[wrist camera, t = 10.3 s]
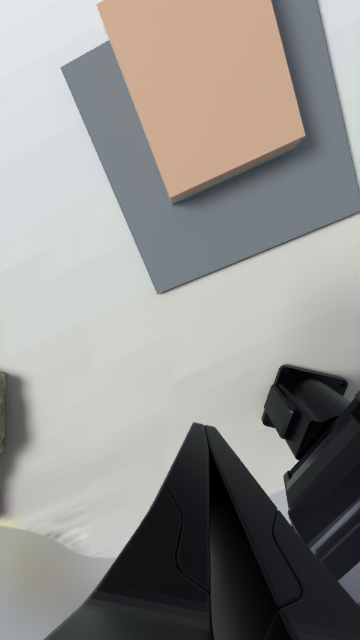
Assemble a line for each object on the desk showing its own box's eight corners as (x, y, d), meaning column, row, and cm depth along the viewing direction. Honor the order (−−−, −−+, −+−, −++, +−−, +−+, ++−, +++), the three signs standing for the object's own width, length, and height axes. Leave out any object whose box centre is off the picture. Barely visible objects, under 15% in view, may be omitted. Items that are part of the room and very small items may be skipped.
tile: (305, 135, 15) (249, -86, 13) (170, 197, 16) (96, 4, 14) (292, 150, 17) (241, -39, 15) (172, 205, 18) (107, 36, 16)
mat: (359, 211, 18) (363, 209, 18) (158, 293, 20) (157, 294, 20) (298, -60, 15) (301, -69, 14) (63, 72, 17) (60, 67, 17)
